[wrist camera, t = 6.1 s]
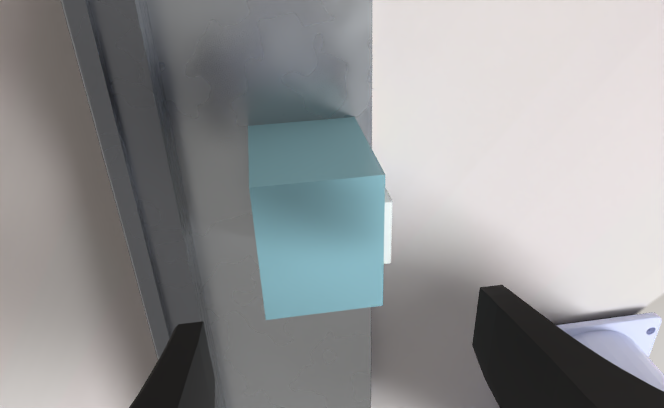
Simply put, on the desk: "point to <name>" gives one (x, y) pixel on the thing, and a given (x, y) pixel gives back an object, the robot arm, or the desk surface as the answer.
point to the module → (318, 217)
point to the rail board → (224, 172)
